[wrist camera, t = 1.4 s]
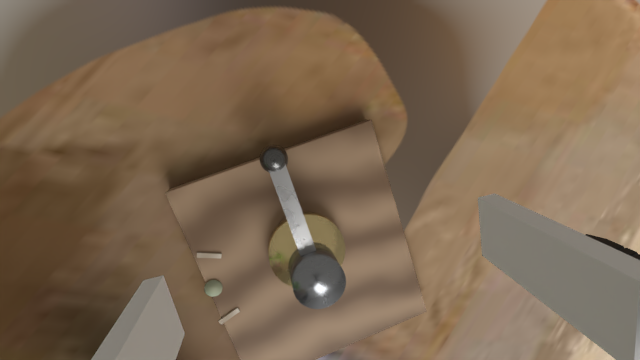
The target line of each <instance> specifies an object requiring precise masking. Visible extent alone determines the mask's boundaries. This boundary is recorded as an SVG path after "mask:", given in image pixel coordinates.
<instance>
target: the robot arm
mask: <svg viewBox="0 0 640 360" xmlns="http://www.w3.org/2000/svg"><path fill="white" fill-rule="evenodd" d="M478 206H479V220H480V233H481V246H482V256H484V257H485V258H486V259H487V260H489V261H490V262H491V263H493V264H494V265H495V266H496V267H498V268H499V269H500V270H502V271H503V272H504V273H505V274H507V275H508V276H509V277H511V278H512V279H513V280H514V281H516V282H517V283H518V284H520V285H521V286H522V287H523V288H525V289H526V290H527V291H529V292H530V293H531V294H532V295H534V296H535V297H536V298H538V299H539V300H540V301H541V302H543V303H544V304H545V305H547V306H548V307H549V308H550V309H552V310H553V311H554V312H556V313H557V314H558V315H559V316H561V317H562V318H563V319H565V320H566V321H567V322H568V323H570V324H571V325H572V326H574V327H575V328H576V329H577V330H579V331H580V332H581V333H583V334H584V335H585V336H586V337H588V338H589V339H590V340H592V341H593V342H594V343H596V344H597V345H598V346H599V347H601V348H602V349H603V350H605V351H606V352H607V353H608V354H610V355H611V356H612V357H614V358H615V359H616V360H640V255H638V253H637V252H635V251H633V250H630V249H628V248H624V246H621V245H619V244H617V243H615V242H612V241H610V240H608V239H604V238H600V237H596V236H592V235H588V234H586V235H584V234H582V233H579V232H577V231H575V230H573V229H571V228H569V227H566V226H564V225H562V224H560V223H558V222H556V221H553V220H551V219H549V218H547V217H545V216H543V215H540V214H538V213H536V212H534V211H532V210H529V209H527V208H525V207H523V206H521V205H519V204H516V203H514V202H512V201H510V200H508V199H506V198H503V197H501V196H499V195H497V194H491V195H487V196H483V197H479V198H478ZM184 334H185V333H184V330H183V327H182V324H181V322H180V319H179V316H178V314H177V311H176V308H175V306H174V303H173V300H172V297H171V295H170V292H169V289H168V287H167V284H166V281H165V278H164V276H159V277H155V278H151V279H147V280H143V282H142V283H141V285H140V286H139V288H138V289H137V291H136V292H135V294H134V295H133V297H132V298H131V300H130V301H129V303H128V304H127V306H126V307H125V309H124V311H123V312H122V314H121V315H120V317H119V318H118V320H117V321H116V323H115V324H114V326H113V327H112V329H111V330H110V332H109V333H108V335H107V336H106V338H105V339H104V341H103V342H102V344H101V345H100V347H99V348H98V350H97V351H96V353H95V354H94V356H93V358H92V359H91V360H176V358H177V355H178V352H179V349H180V346H181V343H182V340H183V337H184Z"/></svg>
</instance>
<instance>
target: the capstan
mask: <svg viewBox="0 0 640 360" xmlns="http://www.w3.org/2000/svg"><path fill="white" fill-rule="evenodd" d="M260 164H261V166H262V168H263V169H264V170H265V171H267V172H269V173H270V175H271V178H272V181H273V184H274V186H275V189H276V192H277V194H278V197H279V200H280V202H281V205H282V208H283V211H284V213H285V216H286V218H285V219H284V220H282V221H281V222H280V223H279V224H278V225H277V226H276V228H275V229H274V231H273V232H272V234H271V237H270V240H269V244H268V256H269V262H270V266H271V268H272V270H273V272H274V274H275V275H276V276H277V277H278V279H280V280H281V281H282V282H283V283H285V284H287V285H289V286H291V287H293V292H294V295H295V297H296V298H297V300H298V301H299V302H300V303H301V304H302V305H304V306H306V307H308V308H311V309H323V308H326V307H329V306H331V305H333V304H334V303H335V302H337V301H338V300H339V299H340V297H341V296H342V294H343V292H344V290H345V287H346V276H345V273H344V271H343V269H342V267H341V266H342V264H343V261H344V257H345V242H344V238H343V236H342V234H341V232H340V230H339V229H338V228H337V226H336V225H335V224H334V223H333V222H332V221H331V220H330V219H329V218H327V217H326V216H324V215H322V214H319V213H316V212H302V209H301V206H300V204H299V201H298V198H297V195H296V192H295V190H294V187H293V184H292V181H291V178H290V176H289V173H288V170H287V167H286V166H287V164H288V155H287V153H286V151H285V150H284V149H283V148H282V147H280V146H278V145H270V146H267V147H266V148H264V149H263V151H262V152H261V154H260Z"/></svg>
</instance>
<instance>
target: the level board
mask: <svg viewBox="0 0 640 360" xmlns="http://www.w3.org/2000/svg"><path fill="white" fill-rule="evenodd" d="M284 150H285V151H286V153H287V155H288V164H287V166H286V167H287V170H288V173H289V176H290V178H291V181H292V184H293V187H294V190H295V192H296V195H297V198H298V201H299V204H300V206H301V209H302V212H316V213H319V214H322V215H324V216H326V217H327V218H329V219H330V220H331V221H332V222H333V223H334V224H335V225H336V226H337V228H338V229H339V230H340V232H341V234H342V236H343V238H344V242H345V257H344V261H343V264H342V266H341V267H342V269H343V271H344V273H345V276H346V287H345V290H344V292H343V294H342V296H341V297H340V299H339V300H338V301H337V302H335V303H334V304H333V305H331V306H329V307H326V308H323V309H311V308H308V307H306V306H304V305H302V304H301V303H300V302H299V301H298V300H297V298H296V297H295V295H294V292H293V287H291V286H289V285H287V284H285V283H283V282H282V281H281V280H280V279H278V277H277V276H276V275H275V274H274V272H273V270H272V268H271V266H270V262H269V256H268V244H269V240H270V237H271V234H272V232H273V231H274V229H275V228H276V226H277V225H278V224H279V223H280V222H281V221H282V220H284V219H285V218H286V216H285V213H284V211H283V208H282V205H281V202H280V200H279V197H278V194H277V192H276V189H275V186H274V184H273V181H272V178H271V175H270V173H269V172H267V171H265V170H264V169H263V168H262V166H261V164H260V157H259V158H256V159H253V160H250V161H248V162H245V163H242V164H239V165H236V166H233V167H230V168H228V169H225V170H222V171H219V172H216V173H213V174H211V175H208V176H205V177H202V178H199V179H196V180H194V181H191V182H188V183H185V184H182V185H179V186H176V187H174V188H171V189H169V190H168V191H167V192H166V193H165V194H166V196H167V198H168V201H169V203H170V205H171V207H172V209H173V212H174V214H175V216H176V218H177V220H178V223H179V225H180V227H181V229H182V232H183V234H184V236H185V238H186V240H187V243H188V245H189V247H190V249H191V252H192V254H193V256H194V258H195V260H196V263H197V265H198V267H199V269H200V272H201V274H202V276H203V278H204V280H205V283H206V285H205V288H204V290H205V293H206V294H207V295H209V296H212V298H213V300H214V303H215V305H216V307H217V309H218V311H219V314H220V316H221V319H220V320H219V321H218V322H219V323H220V324H221V325H222V324H223V323H224V325H225V327H226V329H227V331H228V334H229V336H230V338H231V340H232V343H233V345H234V347H235V349H236V351H237V354H238V356H239V358H240V360H316V359H318V358H320V357H323V356H325V355H327V354H330V353H332V352H334V351H336V350H339V349H341V348H343V347H346V346H348V345H350V344H353V343H355V342H357V341H360V340H362V339H364V338H367V337H369V336H371V335H374V334H376V333H378V332H380V331H383V330H385V329H387V328H390V327H392V326H394V325H397V324H399V323H401V322H404V321H406V320H408V319H411V318H413V317H415V316H418V315H420V314H422V313H424V312H427V311H426V308H425V304H424V301H423V297H422V294H421V290H420V287H419V284H418V280H417V277H416V273H415V270H414V266H413V263H412V259H411V256H410V252H409V249H408V245H407V242H406V238H405V235H404V231H403V228H402V225H401V221H400V218H399V214H398V211H397V207H396V204H395V200H394V197H393V193H392V190H391V186H390V183H389V180H388V176H387V173H386V169H385V166H384V162H383V159H382V155H381V152H380V148H379V145H378V141H377V138H376V134H375V131H374V127H373V124H372V121H371V120H364V121H361V122H358V123H356V124H353V125H350V126H347V127H344V128H341V129H339V130H336V131H333V132H330V133H327V134H324V135H321V136H319V137H316V138H313V139H310V140H307V141H304V142H302V143H299V144H296V145H293V146H290V147H287V148H285V149H284Z"/></svg>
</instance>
